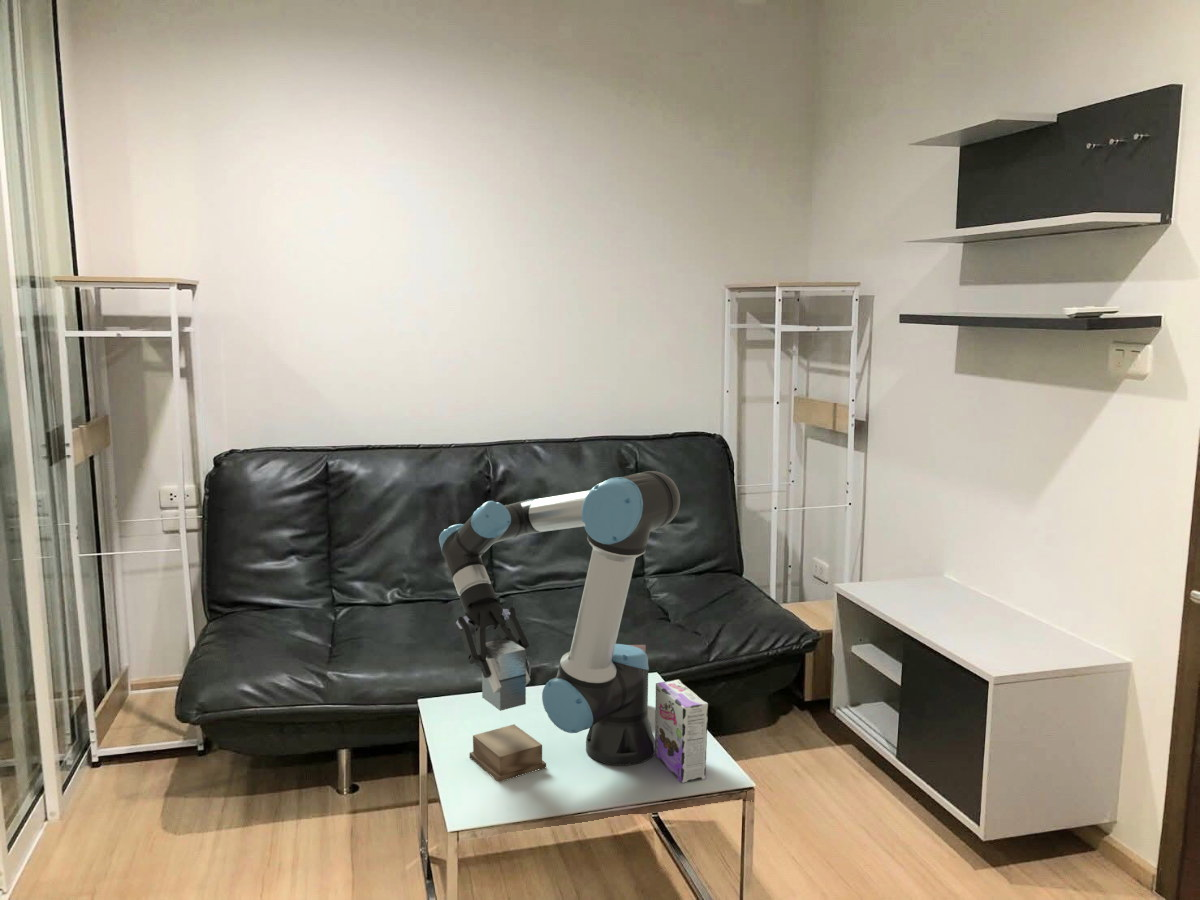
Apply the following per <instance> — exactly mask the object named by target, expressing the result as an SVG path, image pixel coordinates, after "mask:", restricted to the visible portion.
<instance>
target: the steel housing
mask: <svg viewBox="0 0 1200 900" xmlns="http://www.w3.org/2000/svg"><path fill="white" fill-rule="evenodd" d="M526 652H527V651H526V649H524V648H523V647H521V646H519V645H518V644H516V643H514V642H513V641H511V640H508V639H505V638H504V639H501V638H500V639H495V640H491V641H486V660H487V659H490V658H491V661H492V663H493V666H494V669H495V671H496V674H497V677H498V679H499V682H500V685H501V688H500V689H499V691H498V692H497V693H493V690H492V687H491V685H490V682H489V679H488V678H485V677H484V676H483V673H482V672H481V683H482V684H481V690H482V691H481V692H482V693H481V694H482V695H481V698H482V699H483V700H485V701H487V702H488V703H489V704H491V706H493V707H495V708H496V709H497V710H498V711H501V712H502V711H504V710H508V709H513V708H516V707H520V706H524V705H526V703H527V702H526V701H527V697H526V695H527V692H526V691H527V687H526V686H527V685H526V670H527V667H526V661H527V658H526V655H527V653H526Z"/></svg>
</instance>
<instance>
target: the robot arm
mask: <svg viewBox="0 0 1200 900" xmlns="http://www.w3.org/2000/svg"><path fill="white" fill-rule="evenodd" d="M680 504H681V495H680V492H679V489H678V486H677V484H676V483H675V482H674V480H672V478H671V477H669V476H668V475H666V474H664V472H663V473H662V472H659V471H654V470H648V471H642V472H638V473H633V474H629V475H625V476H620V477H618V476H617V477H616V476H615V477H611V478H608V479H607V480H604V481H603V482H602V481H601V482H600V483H597V484H596V485H594V486H593V487H592V488H591V489H588V490H584V491H576V492H571V493H570V492H569V493H564V494H558V495H553V496H547V497H542V498H541V497H540V498H529V499H523V500H522V501H518V502H515V503H514V502H513V503H510V504H505V505H504V504H503V503H501V502H496V501H494V500H488V501H486V502H483V503H482V505H480V506H479V507H478V508H477V509H476V510H474V511H473V513H472V515H471V516H470V517H469V518H468V519H467V520H466V522H465V523H463V524H462V523H458V524H457V523H456V524H453V525H450V526H448V528H446V529H443V531H441V532H440V534H439V537H438V542H439V545H440V550H441V555H442V557H443V558H444V561H445V563H446V566H447V569H448V571H449V574H450V576H451V579H452V581H453V584H454V586H455V589H456V592H457V595H458V596H459V601H460V602H461V603H460V604H461V606H462V609H463V611H464V613H465V615H464V616H459V617H458V618H457V621H456V622H455V623H454V624H455V627H456V629H457V630H458V632H459V633H460V637H461V639H462V643H463V648H464V650H465V655H466V657H467V661H468V663H469V664H470V665H472V664H476V665H475V666H477V667H479V668H480V671H481V674H482V673H483V676H484V677H485V678H488V679H489V682H490V685H491V687H492V690H493V693H497V692H498V691H499V689H500V688H501V685H500V682H499V679H498V677H497V674H496V671H495V669H494V666H493V663H492V661H491V658H490V659H487V660H486V642H487V641H486V640H487V639H486V631H487V630H493V631H494V633H496V634H497V635H498V636H499V637H500V639H504V638H505V639H508V640H511V641H513V642H514V643H516V644H518V645H519V646H521V647H523V648H524V649H526V650H528V648H529V647H530V643H529V641H528V639H527V637H526V635H525V633H524V631H523V629H522V627H521V625H520V623H519V621H518V619H517V616H516V615H517V614H516V609H515V607H514V606H511V607H510V608H503V607H502V606H501V605H500V604H499V601H498V597H497V594H496V592H495V590H494V586H493V585H492V582H491V580H490V576H489V574H488V572H487V569H486V566H485V565H484V562H483V560H482V556H483V555H484V554H485V553H486V552H487V551H488V550H489V549H490V548H491V546H493V544H496V543H499V542H503V541H506V540H510V539H513V538H517V537H521V536H524V535H525V536H526V535H530V534H537V533H538V534H539V533H542V532H543V533H544V532H550V531H552V532H553V531H557V530H558V531H559V530H565V529H566V530H567V529H571V528H572V529H574V528H581V527H584V530H585V531H586V534H587V537H586V538H587V542H588V543H589V545H590V546H591V547H592V550H591V555H590V560H589V563H588V568H587V569H588V570H587V573H586V577H585V582H584V586H583V587H584V588H583V592H582V596H581V601H580V604H579V609H578V614H577V620H576V623H575V626H574V627H575V628H574V632H573V636H572V637H573V638H572V642H571V645H570V646H571V647H570V651H568V652H566V653H564V654H563V655H562V656H561V658H560V660H559V664H558V665H559V666H558V669H557V675H556V676H555V677H554V678H551V679H549V680H548V682H546V683H545V685H544V687H543V689H542V693H541V699H542V701H541V702H542V705H543V709H544V711H545V712H546V714H547V717H548V718H549V720H550V721H551V723H553V725H554V726H555V727H557V728H558V729H559V730H561V731H563V732H565V733H568V734H578V733H580V732H583V731H586V730H588V732H587V734H586V735H587V736H586V738H585V739H586V740H585V751H586V754H587V756H589V757H590V758H591V759H593V760H595V761H597V762H599V763H602V764H606V765H614V766H632V765H637V764H641V763H643V762H646V761H648V760H649V759H651V758H652V757H653V756H654V755H655V735H654V734H653V733H654V732H653V729H652V725H651V723H650V719H649V717H648V716H649V715H648V708H649V707H648V705H649V703H648V702H649V695H648V694H649V670H650V666H649V658H648V654H647V653H645V652H644V651H643V650H642V649H640V648H637V647H634V646H630V645H631V644H623V643H617V638H618V635H619V631H620V625H621V622H622V617H623V614H624V609H625V607H626V602H627V597H628V593H629V589H630V584H631V581H632V577H633V571H634V568H635V562H636V558H638V557H640V556H642V555H644V554H645V553H646V550H647V546H648V542H649V539H650V534H651V532H652V531H655V530H659V529H661V528H663V527H665V526H667V525H668V524H670V523H671V522H672V521H673V519H675V517H676V515H677V514H678V512H679V509H680ZM502 616H503V617H504V620H505V621H506V622H505V621H504V620H503V618H502ZM506 623H507V626H508V627H507V626H506ZM469 625H471V626H473V627H474V635H475V641H476V642H475V643H476V644H475V643H474V639H473V635H472V632H471V628H470V626H469ZM475 645H476V646H475ZM528 665H529V664H528V661H527V660H526V668H527V667H528ZM530 681H531V678H530V675H529V673H528V670H527V669H526V686H527V685H528V683H530Z"/></svg>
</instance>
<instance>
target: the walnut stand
mask: <svg viewBox="0 0 1200 900" xmlns="http://www.w3.org/2000/svg"><path fill="white" fill-rule="evenodd" d="M472 744H473V745H472V750H473V751H471V752H469V758H470V759H471V760H472V761H473V760H474V761H473V762H474V763H476V764H477V765H478V766H479V767H481V768H482V769H483V770H484V771H485V772H486V771H487V772H486V773H488V775H490V774H491V775H492V776H493V777H494V778H493V777H492V776H491V775H490V776H491V777H492V778H493V779H494V780H496V781H497V782H498V783H501V782H503V781H507V779H508V780H510V778H511V779H514V778H517V777H519V776H518V775H521V776H523V775H522V774H524V775H526V774H525V773H527V774H530V773H533V772H532V771H534V772H536V771H535V770H537V771H539V770H538V769H540V770H542V768H544V769H546V768H547V762H546V761H544V760H543V744H542V743H541V742H539V741H538V740H536V739H535V738H534V737H532V736H531V735H530V734H528V733H527V732H526V731H524V730H523V729H521V728H520V727H519V726H517V725H516V724H511V725H506V726H502V727H499V728H495V729H491V730H488V731H484V732H481V733H477V734H474V735H472ZM545 767H546V768H545ZM529 772H530V773H529ZM516 776H517V777H516ZM513 777H514V778H513Z"/></svg>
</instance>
